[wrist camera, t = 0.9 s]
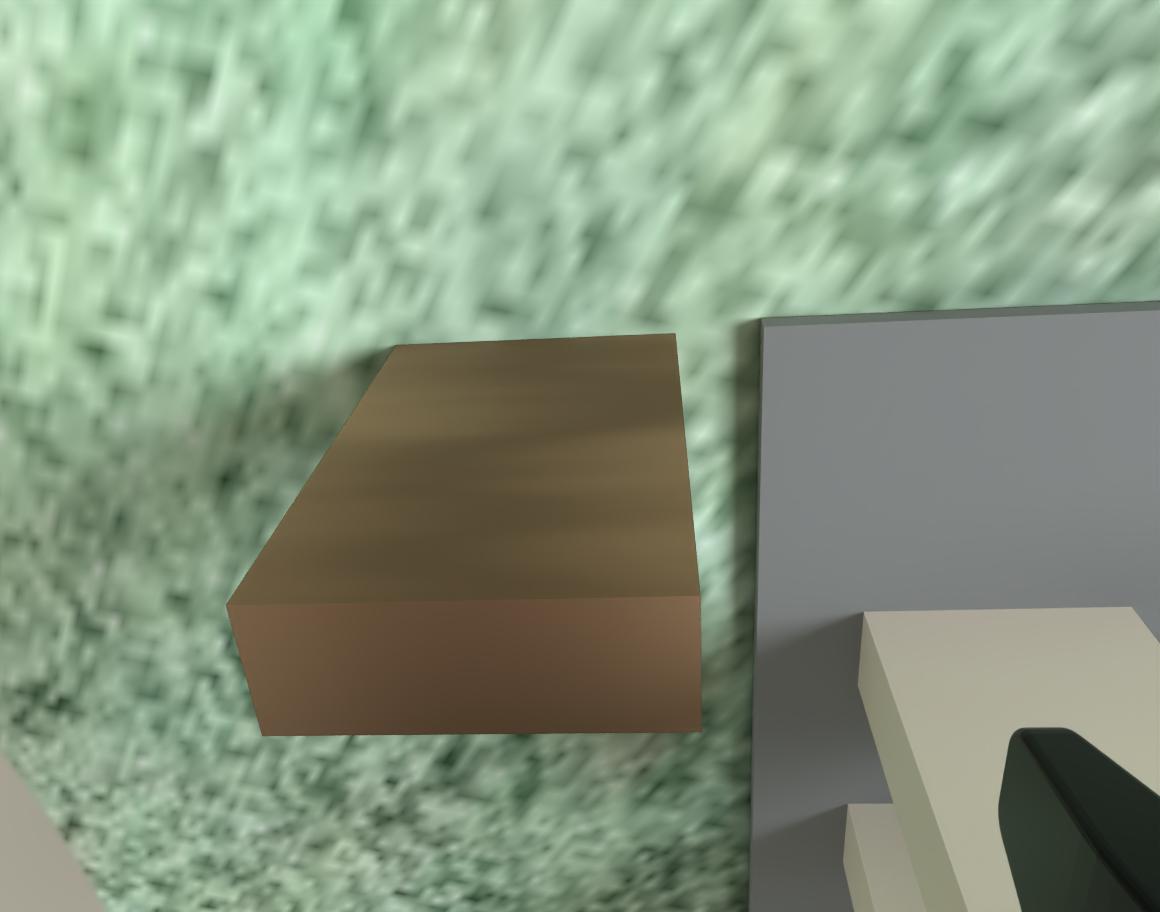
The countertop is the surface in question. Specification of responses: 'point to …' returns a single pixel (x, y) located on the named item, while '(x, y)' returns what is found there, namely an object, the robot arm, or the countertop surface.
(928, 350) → the mat
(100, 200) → the countertop surface
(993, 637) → the tile
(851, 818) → the tile
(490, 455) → the walnut domino
